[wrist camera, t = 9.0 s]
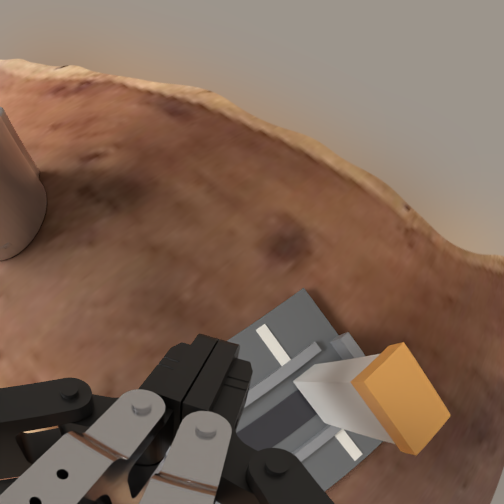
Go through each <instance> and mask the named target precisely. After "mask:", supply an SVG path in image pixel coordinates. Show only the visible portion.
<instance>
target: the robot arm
mask: <svg viewBox="0 0 504 504" xmlns="http://www.w3.org/2000/svg"><path fill="white" fill-rule="evenodd" d="M39 172H40V171H39V169H38V168H37V166H36V164H35V163H34V161H33V160H32V158H31V156H30V155H29V153H28V151H27V150H26V148H25V146H24V145H23V143H22V141H21V140H20V138H19V136H18V134H17V133H16V131H15V129H14V127H13V126H12V124H11V122H10V120H9V118H8V117H7V115H6V113H5V111H4V109H3V108H2V107H0V260H5V259H8V258H11V257H13V256H15V255H17V254H18V253H19V252H21V251H22V250H23V249H24V248H26V246H27V245H28V244H29V243H30V242H31V241H32V240H33V238H34V237H35V235H36V234H37V232H38V231H39V228H40V226H41V224H42V222H43V219H44V216H45V212H46V205H47V199H46V192H45V189H44V186H43V185H42V183H41V182H40V180H39ZM239 350H240V345H239V344H235V343H231V342H228V341H224V340H219V339H217V338H213V337H210V336H206V335H203V334H198V335H197V337H196V338H195V340H194V341H193V343H192V344H191V345H189V344H186V343H180V344H178V345H176V346H174V347H172V348H171V349H170V350H169V351H168V352H167V354H166V355H165V356H164V358H163V359H162V360H161V361H160V362H159V365H157V366H156V367H155V369H154V370H153V371H152V373H151V374H150V375H149V376H148V378H147V379H146V380H145V381H144V383H143V384H142V385H141V386H140V388H139V389H137V390H131V391H128V392H126V393H124V394H123V395H122V396H121V397H120V398H111V397H104V396H99V395H93V394H92V391H91V388H90V387H89V385H88V384H87V383H85V382H84V381H82V380H80V379H76V378H63V379H57V380H52V381H46V382H40V383H34V384H27V385H21V386H14V387H7V388H0V479H4V478H12V477H19V476H20V477H19V478H13V479H7V480H0V504H139V502H140V500H141V502H140V504H215V503H216V501H217V502H219V503H220V504H334V503H333V501H332V500H331V499H330V498H329V497H328V495H327V494H326V493H325V492H324V490H323V489H322V488H321V487H320V486H319V484H318V483H317V482H316V481H315V479H314V478H313V477H312V476H311V474H310V473H309V472H308V470H307V469H306V468H305V467H304V465H303V464H302V463H301V461H300V460H299V459H298V458H297V457H296V456H295V455H294V454H292V453H291V452H289V451H287V450H284V449H280V448H266V449H262V450H259V451H257V450H255V449H253V448H251V447H250V446H248V445H246V444H245V443H244V442H242V441H241V439H240V438H239V437H238V435H237V434H236V430H237V427H238V424H239V421H240V418H241V415H242V412H243V409H244V406H245V404H246V400H247V396H248V391H249V387H250V383H251V378H252V374H253V370H252V367H251V363H250V362H249V361H245V360H242V359H238V355H239ZM57 425H58V428H56V429H51V430H46V431H40V432H35V433H23V432H24V431H30V430H36V429H41V428H47V427H52V426H57ZM170 446H171V448H170V450H169V452H168V455H167V457H166V452H167V450H168V449H169V447H170Z"/></svg>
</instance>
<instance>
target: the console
mask: <svg viewBox="0 0 504 504" xmlns="http://www.w3.org/2000/svg"><path fill="white" fill-rule="evenodd" d="M228 342H231V343H235V344H239V345H240V350H239V355H238V359H242V360H245V361H249V362H250V363H251V367H252V370H253V374H252V378H251V383H250V387H249V391H248V396H247V400H246V404H245V406H244V409H243V412H242V415H241V418H240V421H239V424H238V427H237V430H236V434H237V435H238V437H239V438H240V439H241V441H242V442H244V443H245V444H246V445H248V446H250V447H251V448H253V449H255V450H257V451H259V450H262V449H266V448H280V449H284V450H287V451H289V452H291V453H292V454H294V455H295V456H296V457H297V458H298V459H299V460H300V461H301V463H302V464H303V465H304V467H305V468H306V469H307V470H308V472H309V473H310V474H311V476H312V477H313V478H314V479H315V481H316V482H317V483H318V484H319V486H320V487H321V488H322V489H323V490H324V491H326V490H327V489H328V488H330V487H331V486H332V485H333V484H335V483H336V482H337V481H338V480H340V479H341V478H342V477H343V476H345V475H346V474H347V473H348V472H349V471H351V470H352V469H353V468H354V467H355V466H356V465H358V464H359V463H360V462H361V461H362V460H363V459H364V458H366V457H367V456H368V455H369V454H370V453H371V452H372V451H373V450H374V449H375V448H376V447H378V446H379V445H380V444H381V443H382V442H383V441H382V440H378V439H375V438H371V437H368V436H364V435H361V434H358V433H354V432H351V431H348V430H345V429H341V428H338V427H335V426H332V425H329V424H326V423H324V422H323V420H322V419H321V418H320V417H319V415H318V414H317V413H316V411H315V410H314V409H313V407H312V406H311V405H310V404H309V402H308V401H307V400H306V398H305V397H304V396H303V394H302V393H301V392H300V390H299V389H298V388H297V386H296V385H295V384H294V382H293V381H294V380H295V379H296V378H298V377H299V376H300V375H302V374H303V373H304V372H305V371H307V370H308V369H309V368H311V367H312V366H313V365H314V364H320V363H328V362H334V361H341V360H347V359H353V358H359V357H365V354H364V353H363V352H362V350H361V349H360V347H359V346H358V345H357V343H356V342H355V340H354V339H353V338H352V336H351V335H350V334H349V332H347V333H344V334H341V335H338V334H337V332H336V331H335V330H334V328H333V327H332V326H331V324H330V323H329V321H328V320H327V319H326V317H325V316H324V315H323V313H322V312H321V311H320V309H319V308H318V306H317V305H316V304H315V302H314V301H313V300H312V298H311V297H310V296H309V294H308V293H307V292H306V290H305V289H304V288H303V289H301V290H300V291H299V292H297V293H296V294H295V295H293V296H292V297H290V298H289V299H287V300H286V301H285V302H283V303H282V304H280V305H279V306H278V307H276V308H275V309H273V310H272V311H270V312H269V313H268V314H266V315H265V316H263V317H262V318H260V319H259V320H257V321H256V322H254V323H253V324H252V325H250V326H249V327H247V328H246V329H244V330H243V331H241V332H240V333H238V334H237V335H235V336H234V337H232V338H231V339H229V340H228ZM170 448H171V446H170V447H169V449H168V450H167V452H166V457H167V455H168V452H169V450H170ZM140 502H141V500H140ZM140 502H139V504H140ZM215 504H220V503H219V502H217V501H216V503H215Z"/></svg>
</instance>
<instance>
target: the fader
mask: <svg viewBox="0 0 504 504" xmlns="http://www.w3.org/2000/svg"><path fill="white" fill-rule="evenodd" d="M293 382H294V384H295V385H296V386H297V388H298V389H299V390H300V392H301V393H302V394H303V396H304V397H305V398H306V400H307V401H308V402H309V404H310V405H311V406H312V407H313V409H314V410H315V411H316V413H317V414H318V415H319V417H320V418H321V419H322V420H323V422H324V423H326V424H329V425H332V426H335V427H338V428H341V429H345V430H348V431H351V432H354V433H358V434H361V435H364V436H368V437H371V438H375V439H378V440H382V441H386V442H389V443H393V444H396V446H397V447H398V448H399V450H400V451H401V452H404V453H408V454H412V455H415V456H416V455H417V454H418V453H419V452H420V451H421V450H422V449H423V448H424V447H425V446H426V445H427V443H428V442H429V441H430V440H431V439H432V438H433V437H434V435H435V434H436V433H437V432H438V431H439V429H440V428H441V427H442V426H443V425H444V423H445V422H446V421H447V420H448V418H449V417H450V416H451V415H450V413H449V411H448V410H447V408H446V407H445V405H444V403H443V402H442V400H441V398H440V397H439V395H438V394H437V392H436V391H435V389H434V387H433V386H432V384H431V383H430V381H429V380H428V378H427V376H426V375H425V373H424V372H423V370H422V369H421V367H420V366H419V364H418V363H417V361H416V360H415V358H414V357H413V355H412V354H411V352H410V351H409V349H408V348H407V346H406V345H405V343H404V342H402V343H398V344H394V345H389V346H388V347H387V348H386V349H385V350H384V351H383V352H382V353H381V354H376V355H370V356H365V357H359V358H353V359H347V360H341V361H334V362H328V363H320V364H314V365H313V366H312V367H311V368H309V369H308V370H307V371H305V372H304V373H303V374H302V375H300V376H299V377H298V378H296V379H295V380H294V381H293Z"/></svg>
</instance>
